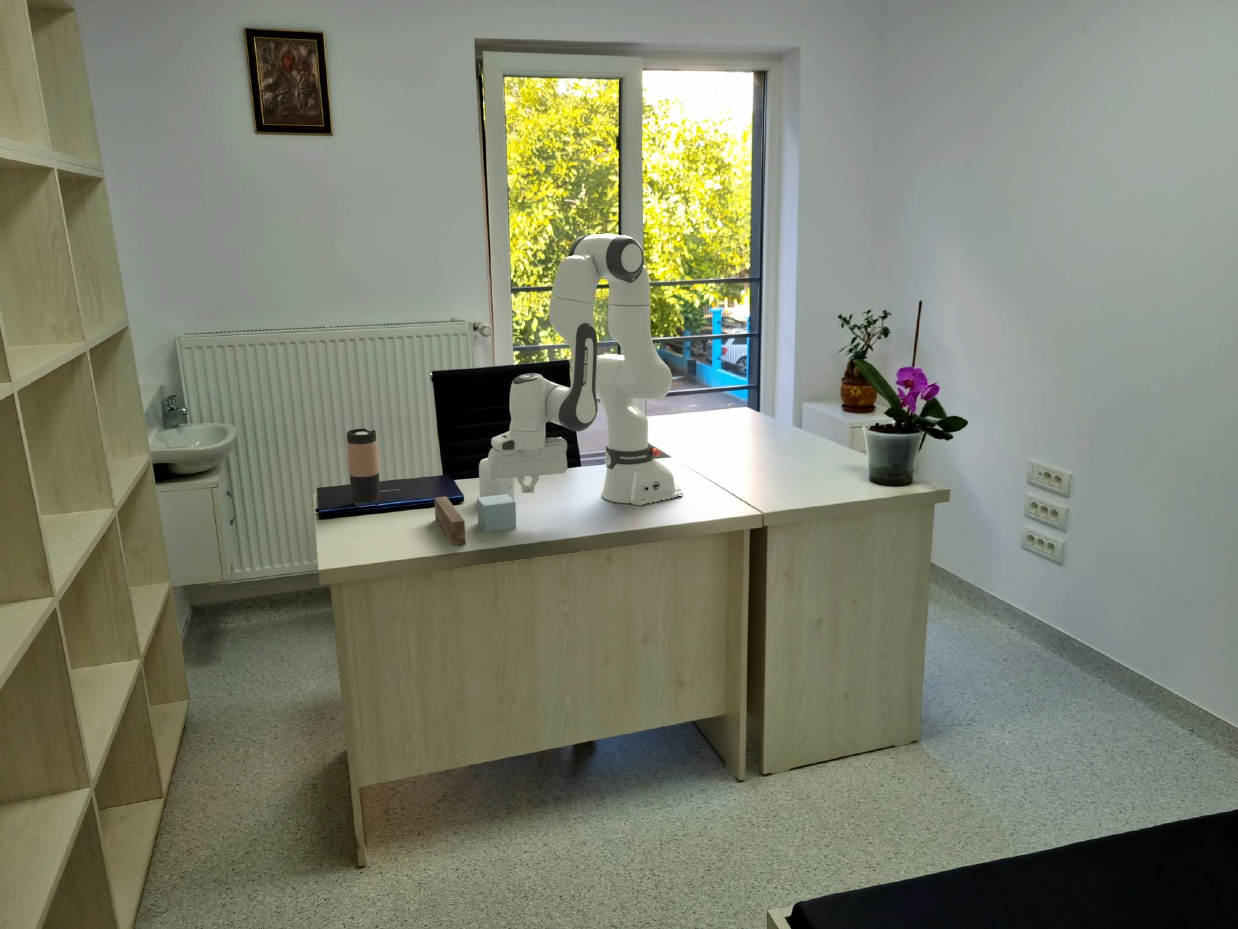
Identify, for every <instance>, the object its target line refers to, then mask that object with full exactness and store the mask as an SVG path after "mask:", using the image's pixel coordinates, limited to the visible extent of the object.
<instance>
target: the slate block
mask: <svg viewBox="0 0 1238 929" xmlns="http://www.w3.org/2000/svg"><path fill="white" fill-rule="evenodd" d="M476 504H477V505H476V506H477V509H476V510H477V524H478V525H479V526H480V528H481V529H482V530H483V531H484V533H491V532H498V531H497V530H499V531H505V530H513V529H517V512H516V511H517V508H516V504H517V503H516V501H515V499H514V500H513V499H512V498H511V497H510V496H509V495H508V494H503V495H495V496H486V497H480V496H479V497H476Z"/></svg>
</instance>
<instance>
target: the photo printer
mask: <svg viewBox="0 0 1238 929" xmlns="http://www.w3.org/2000/svg"><path fill="white" fill-rule="evenodd" d="M487 463H488V457H485V458H483V459H481V460H480V462H479V465H478V474H479V475H478V478H479V481H478V482H479V497H486V496H495V495H503V494H508V495H509V496H510V497H511V498H512V499H513V500H514V501H515V477H514V478H502V479H492V478H491V477H490V476H489V475H488V473H487Z"/></svg>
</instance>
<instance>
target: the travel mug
mask: <svg viewBox="0 0 1238 929" xmlns="http://www.w3.org/2000/svg"><path fill="white" fill-rule="evenodd" d="M376 432H377V431H376V430H375V429H372V430H368V429H366V428H355V429H351V430H348V431H347V432H346V442H347V445H346V446H347V457H348V458H347V459H348V461H347V462H348V474H349V481H350V490H351V500H353V501H355V502H371V501H374V500H377V499H379V498H380V499H381V493H380V492H381V491H380V490H381V489H380V468H379V456H378V447H377V446H378V442H377V433H376ZM353 501H352V502H353Z"/></svg>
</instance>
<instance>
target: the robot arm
mask: <svg viewBox="0 0 1238 929" xmlns="http://www.w3.org/2000/svg"><path fill="white" fill-rule="evenodd" d="M644 262H645V257H644V251H643V248H642V246H641V244H640V242H639V241H638V240H636V239H635V238H634V237H630V236H628V235H624V234H621V235H619V234H613V233H601V234H592V233H591V234H585V235H584V234H583V235H582V236H579V237H577V238H576V239H574V241H573V242H572V243H571V246H570V248H569V250H568V255H567V256H566V257H565V258H563V259H562V260H561V261H560V263H559V266H558V268H557V270H556V274H555V277H554V281H553V284H552V285H553V286H552V289H551V294H550V299H549V307H548V319H549V323H550V326H551V327H552V328H553V330H554V331H555V333H557V334H558V335H559V336H560V337H562V339H563V340H564V341H565V342H566V344H567V345H568V347H569V349H570V351H571V356H572V357H571V376H570V377H571V378H570V387H568V386H565V385H561V384H558V383H556V382H553V381H550V380H548V379H546V378H545V377H544V376H543V375H542V374H539V373H534V372H533V373H532V372H531V373H524V374H520V375H518V376H516V377H514V379H513V380H512V382H511V385H510V389H509V390H510V392H509V413H510V417H511V418H510V419H511V420H510V424H509V430H508V431H506V432H504V433H500V434H499V435H496V436H493V437H492V438H491V441H490V442H491V443H490V444H491V446H492V448H490V450H489V452H488V456H487V458H488V463H487V473H488V475H489V476H490V477H491V478H492V479H502V478H514V479H515V478H516V479H517V481H518V483H519V485H520V487H521V488H520V491H521V493H522V494H530V493H531V494H532V493H535V486H536V484H538V481H539V476H547V475H559V474H565V473H566V472H567V470H568V460H567V459H568V458H567V453H566V452H567V451H568V450H567V449H568V442H567V440H566V439H564V438H562V437H561V436H560V437H559V436H558V437H557V436H556V437H546V423H549V422H550V423H553V424H556V425H558V426H562V427H564V428H566V429H568V430H571V431H572V432H577V433H578V432H583V431H584V430H586V429H588V428H589V427H590V426H592V424H593V423H594V421H595V420H596V417H597V414H598V399H599V401H600V404H601V405H602V408H603V410H604V414H605V418H606V429H607V431H606V432H607V433H606V434H607V445H606V446H605V465H606V472H605V477H604V478H605V479H604V485H603V489H602V492H601V497H602V498H603V499H605V500H607V501H609V502H614V503H620V504H629V503H631V504H630V505H635V506H643V504H645V505H647V504H646V503H649V504H653V503H652V502H654V503H658V502H657V501H659V502H661V501H660V500H663V501H666V500H665V499H668V500H671V499H670V498H673V497H677V496H679V495H682V496H683V491H682V488H681V487H679V486H678V485H676V483H675V480H674V475H673V473H672V472H671V470H670V469H668V467H666V466H665V465H664V464H662V463H661V462H659V461H658V460H657V459H656V458H655V457H659V456H660V455H661V453H662V452H661V450H660V449H658V448H657V447H653V446H651V445H649V441H648V440H649V421H648V418H647V416H646V414H645V413H644V412H643V411H642V410H641V409H640V408H638V406H637V405H636V402H635V400H634V399H637V400H642V401H651V400H660V399H663V398H664V397H666V396H667V395H668V394H669V392H670V390H671V388H672V384H673V375H672V370H671V369H670V367H669V365H667V364H666V362H664V360H663V359H662V358H661V356H660V355H659V354H658V352H657V349H656V347H655V345H654V341H653V338H652V332H651V331H652V330H651V329H652V328H651V287H650V286H651V284H650V279H649V272H648V269H647V267H646V266H645V264H644ZM603 279H604V280H607V283H608V286H609V289H608V310H607V311H608V312H607V314H608V315H607V316H608V318H607V323H608V324H607V326H608V327H607V330H608V334H609V335H610V337H611V338H612V339H613V340H614V341H615V342H616V343H617V344H618V345H619V346H620V349H621V351H622V354H616V353H615V354H614V353H606V354H599V355H598V336H597V335H598V334H597V331H596V329H595V325H594V324H595V323H594V322H595V321H594V314H595V312H594V310H595V303H596V294H597V287H598V285H599V283H600V281H601V280H603ZM597 397H598V399H597ZM525 477H530V478H531V481H530V483H529V484H525V483H524V481H525ZM677 498H678V497H677ZM673 499H674V498H673Z"/></svg>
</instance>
